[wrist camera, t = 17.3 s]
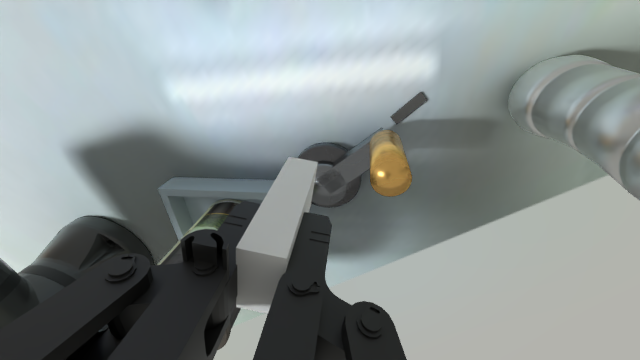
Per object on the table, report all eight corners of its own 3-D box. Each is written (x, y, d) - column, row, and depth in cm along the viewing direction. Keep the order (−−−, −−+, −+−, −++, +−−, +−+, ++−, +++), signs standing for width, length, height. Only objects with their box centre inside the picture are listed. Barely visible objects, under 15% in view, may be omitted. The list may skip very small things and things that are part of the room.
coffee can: (246, 187, 34) (177, 275, 22) (287, 245, 37) (248, 347, 25) (189, 211, 37) (103, 298, 25) (232, 262, 41) (175, 358, 29)
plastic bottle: (572, 123, 25) (1034, 328, 8) (492, 128, 26) (734, 312, 9) (597, 47, 22) (1458, 102, 5) (506, 57, 23) (909, 129, 6)
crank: (323, 205, 32) (310, 256, 25) (295, 176, 31) (273, 221, 23) (411, 149, 27) (427, 192, 20) (382, 111, 26) (388, 142, 18)
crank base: (298, 200, 34) (295, 205, 33) (291, 142, 30) (288, 146, 29) (360, 203, 33) (360, 208, 32) (361, 142, 29) (361, 146, 28)
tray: (204, 263, 43) (193, 278, 40) (173, 177, 35) (157, 188, 33) (299, 271, 41) (294, 287, 38) (287, 180, 33) (280, 193, 30)
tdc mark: (396, 123, 27) (396, 124, 27) (390, 116, 27) (390, 117, 27) (426, 99, 26) (427, 99, 26) (420, 91, 26) (421, 92, 25)
